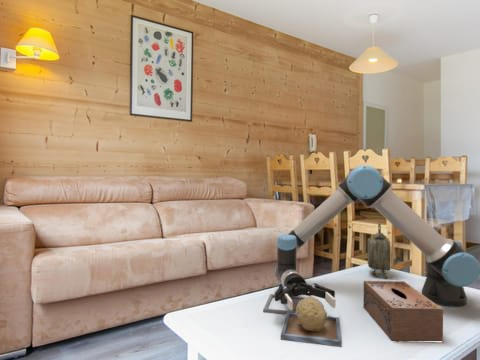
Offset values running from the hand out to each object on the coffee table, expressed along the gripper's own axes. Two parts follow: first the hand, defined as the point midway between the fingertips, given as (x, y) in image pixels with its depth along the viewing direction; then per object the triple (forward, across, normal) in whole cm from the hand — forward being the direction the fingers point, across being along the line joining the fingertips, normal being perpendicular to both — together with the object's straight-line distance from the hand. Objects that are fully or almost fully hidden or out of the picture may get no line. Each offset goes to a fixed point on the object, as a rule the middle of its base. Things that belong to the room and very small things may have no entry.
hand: (313, 304), depth 106 cm
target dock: (-1, 0, -8) cm, 9 cm away
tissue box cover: (-3, -30, -9) cm, 31 cm away
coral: (-1, 0, -8) cm, 8 cm away
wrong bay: (-22, +2, -8) cm, 23 cm away
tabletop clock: (-54, -51, -9) cm, 75 cm away
